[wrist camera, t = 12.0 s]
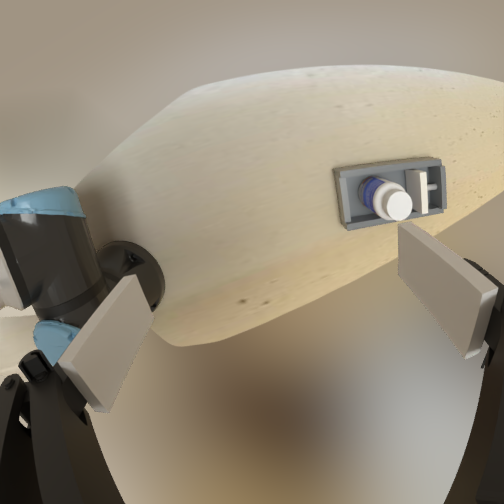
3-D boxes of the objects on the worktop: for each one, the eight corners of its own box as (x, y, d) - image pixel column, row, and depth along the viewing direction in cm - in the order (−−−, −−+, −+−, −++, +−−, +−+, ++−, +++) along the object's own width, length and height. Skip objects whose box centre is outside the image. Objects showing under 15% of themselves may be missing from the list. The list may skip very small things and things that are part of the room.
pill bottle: (358, 210, 43) (381, 229, 34) (356, 176, 41) (380, 188, 32) (388, 206, 43) (416, 224, 34) (387, 173, 41) (416, 184, 32)
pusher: (407, 205, 42) (422, 214, 37) (404, 168, 40) (419, 172, 35) (430, 202, 42) (445, 209, 37) (427, 165, 39) (444, 170, 35)
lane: (340, 223, 45) (349, 233, 40) (333, 168, 42) (341, 172, 37) (432, 206, 43) (446, 214, 38) (429, 156, 40) (444, 160, 35)
